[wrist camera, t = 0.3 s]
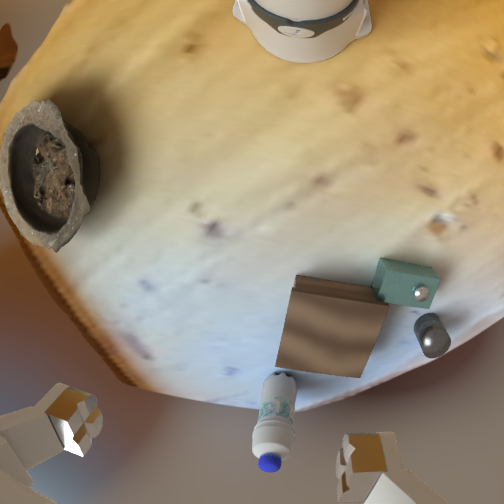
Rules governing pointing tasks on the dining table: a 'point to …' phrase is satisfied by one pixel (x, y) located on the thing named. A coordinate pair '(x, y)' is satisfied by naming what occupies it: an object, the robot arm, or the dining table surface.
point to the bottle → (275, 422)
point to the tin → (432, 335)
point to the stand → (330, 327)
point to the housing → (404, 283)
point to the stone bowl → (47, 175)
